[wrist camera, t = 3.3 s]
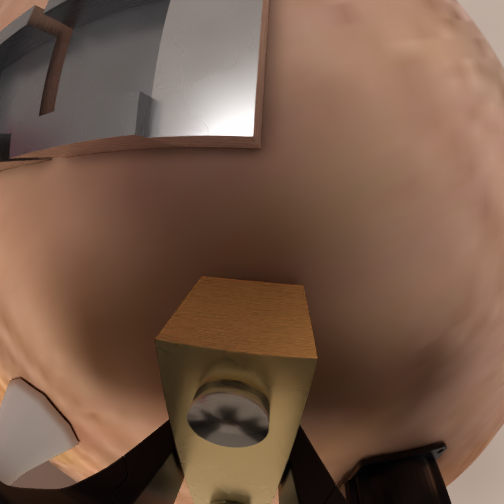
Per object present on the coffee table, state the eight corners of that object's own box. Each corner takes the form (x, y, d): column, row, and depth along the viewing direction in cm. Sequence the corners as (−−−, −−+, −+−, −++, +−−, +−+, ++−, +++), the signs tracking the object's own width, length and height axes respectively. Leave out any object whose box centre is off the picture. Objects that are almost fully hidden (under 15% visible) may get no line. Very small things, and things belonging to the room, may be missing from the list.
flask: (2, 367, 13) (-62, 429, 4) (47, 385, 12) (-30, 475, 3) (41, 428, 15) (-5, 490, 5) (93, 450, 14) (45, 533, 4)
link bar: (202, 275, 8) (142, 357, 4) (303, 285, 8) (321, 379, 4) (210, 455, 11) (193, 518, 7) (269, 462, 11) (263, 528, 7)
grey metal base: (270, -12, 6) (265, -65, 3) (260, 148, 8) (250, 131, 5) (-4, 73, 7) (-38, 68, 4) (-19, 175, 9) (-56, 182, 6)
